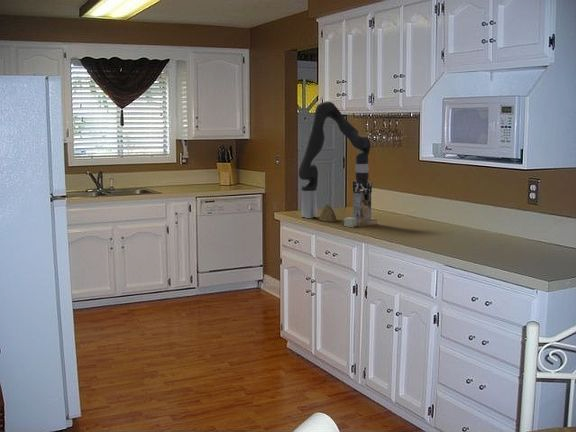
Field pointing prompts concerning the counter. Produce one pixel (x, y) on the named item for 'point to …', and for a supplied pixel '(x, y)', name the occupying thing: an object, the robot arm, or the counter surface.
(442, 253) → the counter surface
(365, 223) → the oak block
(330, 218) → the rock
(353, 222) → the sage cube
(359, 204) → the coffee box
